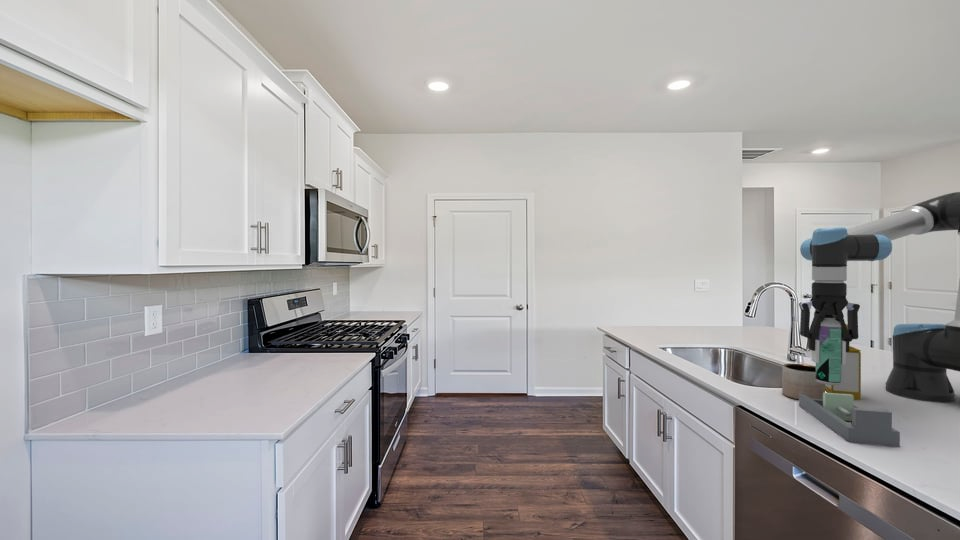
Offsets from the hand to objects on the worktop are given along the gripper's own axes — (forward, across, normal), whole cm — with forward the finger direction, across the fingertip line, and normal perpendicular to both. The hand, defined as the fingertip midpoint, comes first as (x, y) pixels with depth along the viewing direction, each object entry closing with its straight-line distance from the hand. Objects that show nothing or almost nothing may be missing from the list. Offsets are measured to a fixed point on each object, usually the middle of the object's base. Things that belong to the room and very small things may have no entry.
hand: (828, 362), depth 114 cm
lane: (+15, 0, +7) cm, 17 cm away
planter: (+15, 0, -15) cm, 21 cm away
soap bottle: (+15, -12, -17) cm, 26 cm away
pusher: (+15, 0, +7) cm, 17 cm away
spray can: (+6, 0, 0) cm, 6 cm away
